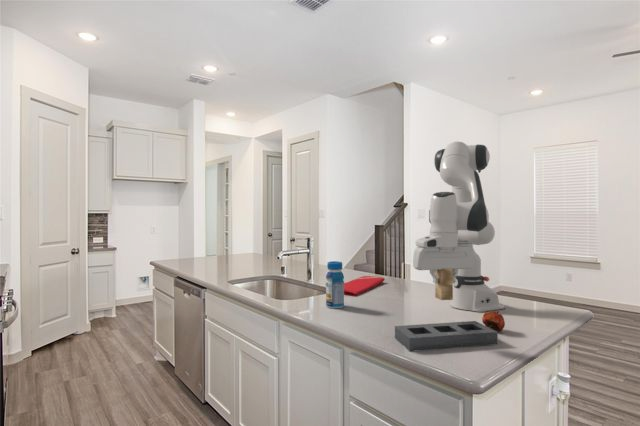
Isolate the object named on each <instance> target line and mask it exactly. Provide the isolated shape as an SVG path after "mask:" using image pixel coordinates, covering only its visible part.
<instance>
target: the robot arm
mask: <svg viewBox="0 0 640 426" xmlns="http://www.w3.org/2000/svg"><path fill="white" fill-rule="evenodd" d="M490 155H491V154H490V152H489V150H488V147H487V146H486V145H484V144H474V145H473V144H471V145H468V144H466V143H464V142H463V141H453V142H450V143H449V144H447V146H446V147H445V148H442V149H439V150H438V151H436V153H435V155H434V158H433V164H434V167H435V169H436V171H437V172H438V173H439V176H440V178H441V180H442V181H443V182H444V183H445V184H447V185H448V186H451V191H439V192H435V193H433V194H432V195H431V198H430V206H429V210H428V220H429V223H430V229H429V235H426V236H424V237H420V238H418V239H416V240H415V246H416V247H415V249H414V251H413V260H412V266H413V267H414V269H415V270H417V271H429V274H430V276H431V277H432V283H433V284H436V283H440V281H439V280H440V278H438V277H436V275H435V273H436V272H437V270H441V269H453V300H450V301H451V302H450V306H451V307H452V308H456V309H459V310H464V311H465V310H466V311H471V312H472V311H473V312H477V313H482V312H483V313H484V312H487V311H488V312H491V311H495V310H504V309H506V307H505V305H504V304H503V303H500V300H499V296H498V293H497V292H496V291H495V290H494V289H492V288H491V287H489V286H488V285H487V284H485V282H489V281H490V277H488V276H484V275H482V273H481V272H482V269H481V268H482V267H481V266H482V263H481V262H482V259H481V256H480V255H479V254H478V253H476V251H475V249H474V245H476V246H480V245H481V246H482V245H486V244H490V243H491V242H492V241H493V240H494V238H495V233H496V231H495V228H494V225H493V224H492V223H491V222H490V220H489V219H490V217H489V210H488V208H487V205H486V203H485V197H484V192H483V188H482V182H481V179H480V175H479V173H481V172H482V170H483V171H484V169H486V168H487V166H488V165H489V163H490V158H491V156H490Z"/></svg>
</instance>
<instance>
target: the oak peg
mask: <svg viewBox="0 0 640 426" xmlns="http://www.w3.org/2000/svg"><path fill="white" fill-rule="evenodd" d="M435 275H436V277H438V278H440V280H439V281H440V283H436V284H435V283H434V284H435V285H434V286H435V288H434V289H435V292H434V293H435V295H434V296H435V298H436V299H439V300H440V301H452V300H453V291H454V285H453V269H441V270H437V272H436V273H435Z"/></svg>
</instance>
